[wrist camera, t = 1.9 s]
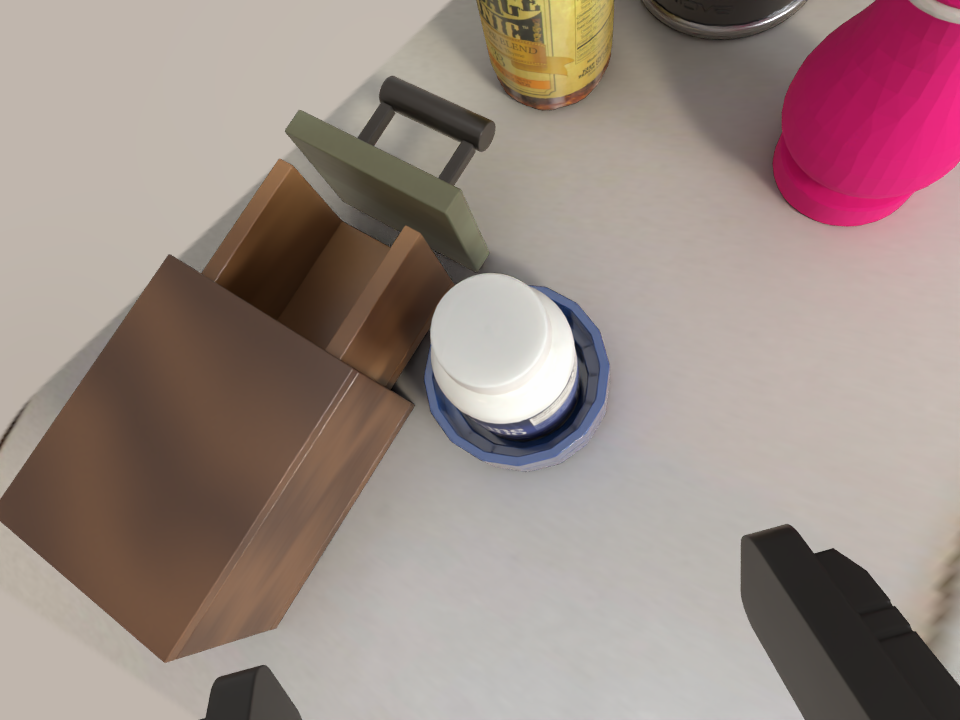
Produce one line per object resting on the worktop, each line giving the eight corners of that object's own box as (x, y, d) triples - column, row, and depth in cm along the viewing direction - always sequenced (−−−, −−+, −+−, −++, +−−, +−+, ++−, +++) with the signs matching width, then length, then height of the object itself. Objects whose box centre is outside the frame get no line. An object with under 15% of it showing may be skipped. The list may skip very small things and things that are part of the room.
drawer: (397, 117, 36) (351, 30, 29) (534, 182, 33) (516, 103, 27) (233, 365, 34) (147, 329, 28) (365, 452, 32) (304, 434, 25)
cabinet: (266, 313, 35) (168, 253, 27) (415, 405, 33) (353, 367, 25) (132, 515, 34) (-11, 513, 26) (276, 628, 31) (164, 663, 23)
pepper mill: (962, 147, 31) (1549, -480, 11) (867, 267, 30) (1314, -176, 11) (820, 72, 33) (1115, -563, 14) (729, 184, 32) (903, -311, 13)
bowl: (497, 282, 33) (485, 254, 30) (639, 357, 31) (642, 337, 28) (414, 416, 32) (391, 404, 29) (553, 503, 30) (546, 501, 27)
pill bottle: (445, 397, 32) (377, 346, 23) (513, 309, 32) (474, 224, 23) (534, 467, 31) (501, 443, 21) (605, 374, 31) (602, 310, 22)
